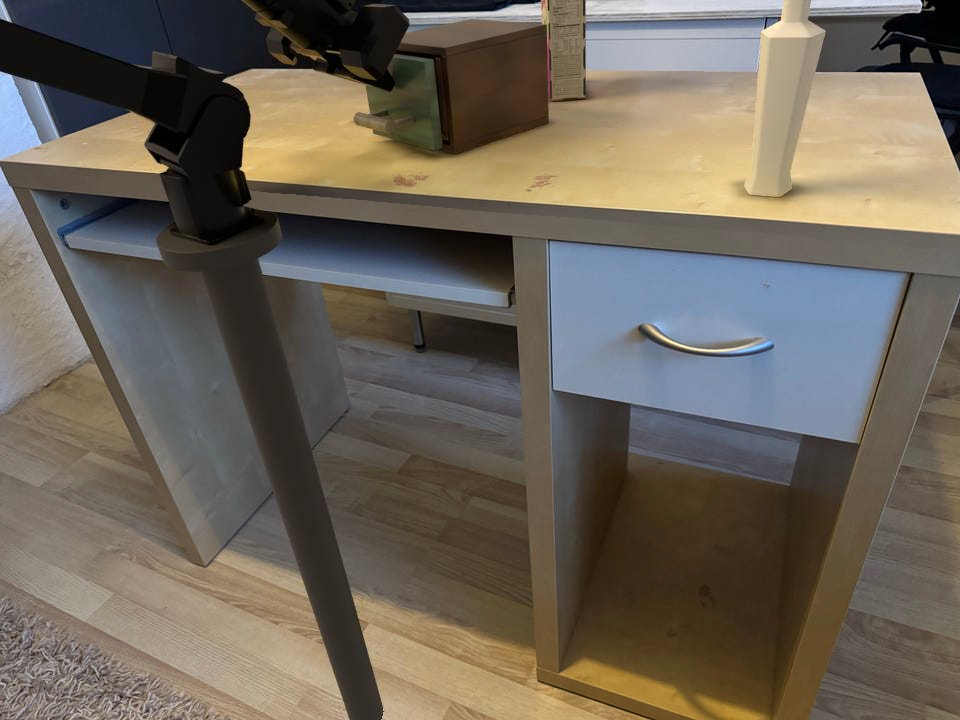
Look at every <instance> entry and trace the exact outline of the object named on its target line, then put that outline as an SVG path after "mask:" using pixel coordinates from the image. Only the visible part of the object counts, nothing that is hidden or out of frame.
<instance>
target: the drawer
mask: <svg viewBox="0 0 960 720" xmlns="http://www.w3.org/2000/svg"><path fill="white" fill-rule="evenodd" d="M387 69H388V71H389V73H390V75H391V76H392V78H393V80H394V82H395V85H394V87H393V89H392V91H391V92H388V91H384V90H381V89H377V88H374V87H370V86H367V85H365V90H366V96H367V103H368V109H369V113H364V112H361V111H357V112H356V113H354V115H353V118H352V119H353V123H354V124H355V125H356V126H358V127H362V128H365V129H369V130H372V134H373V135H376V136H379V137H384V138H386V139H391V140H394V141H398V142H401V143H405V144H409V145H412V146H416V147H420V148H424V149H427V150H429V151H430V150H431V151H439V150H438V149H441V148H443V145H442V139H443V140H447V141H449V140H450V137H449V127H448V117H447V107H446V96H445V86H444V76H443V66H442V56H440V55H433V54H425V53H417V52H410V51H402V50H396V52H395V54H394V56H393V58H392V60H391V62H390V64H389V66H388V68H387Z"/></svg>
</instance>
